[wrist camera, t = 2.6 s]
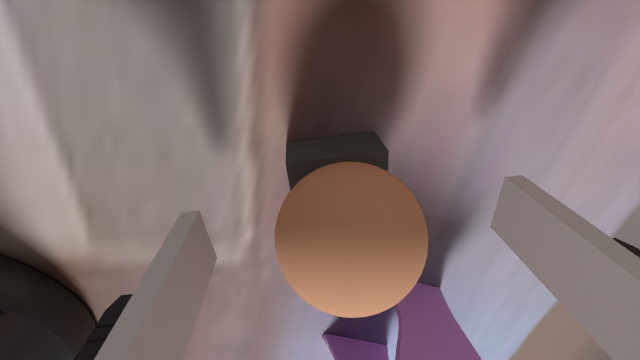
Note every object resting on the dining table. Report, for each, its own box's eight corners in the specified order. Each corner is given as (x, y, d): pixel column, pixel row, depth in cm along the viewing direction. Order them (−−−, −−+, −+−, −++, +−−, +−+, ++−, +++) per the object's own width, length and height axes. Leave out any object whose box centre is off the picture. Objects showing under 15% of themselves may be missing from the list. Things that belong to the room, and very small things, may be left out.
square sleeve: (297, 212, 17) (298, 240, 15) (286, 141, 15) (285, 162, 12) (373, 203, 17) (384, 230, 15) (374, 131, 15) (388, 151, 13)
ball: (287, 247, 15) (285, 363, 10) (267, 146, 12) (251, 239, 7) (394, 233, 16) (446, 340, 10) (401, 131, 13) (478, 211, 7)
